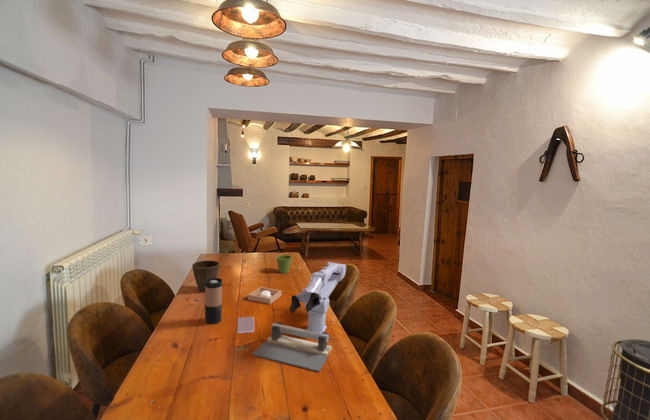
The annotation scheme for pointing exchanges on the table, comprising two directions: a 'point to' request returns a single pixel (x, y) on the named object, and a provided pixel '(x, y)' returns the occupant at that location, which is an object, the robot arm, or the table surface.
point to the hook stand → (299, 342)
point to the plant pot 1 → (204, 272)
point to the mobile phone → (245, 324)
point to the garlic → (265, 294)
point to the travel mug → (213, 300)
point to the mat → (291, 356)
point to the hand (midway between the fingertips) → (299, 310)
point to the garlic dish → (254, 297)
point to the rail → (300, 332)
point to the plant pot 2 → (283, 263)
